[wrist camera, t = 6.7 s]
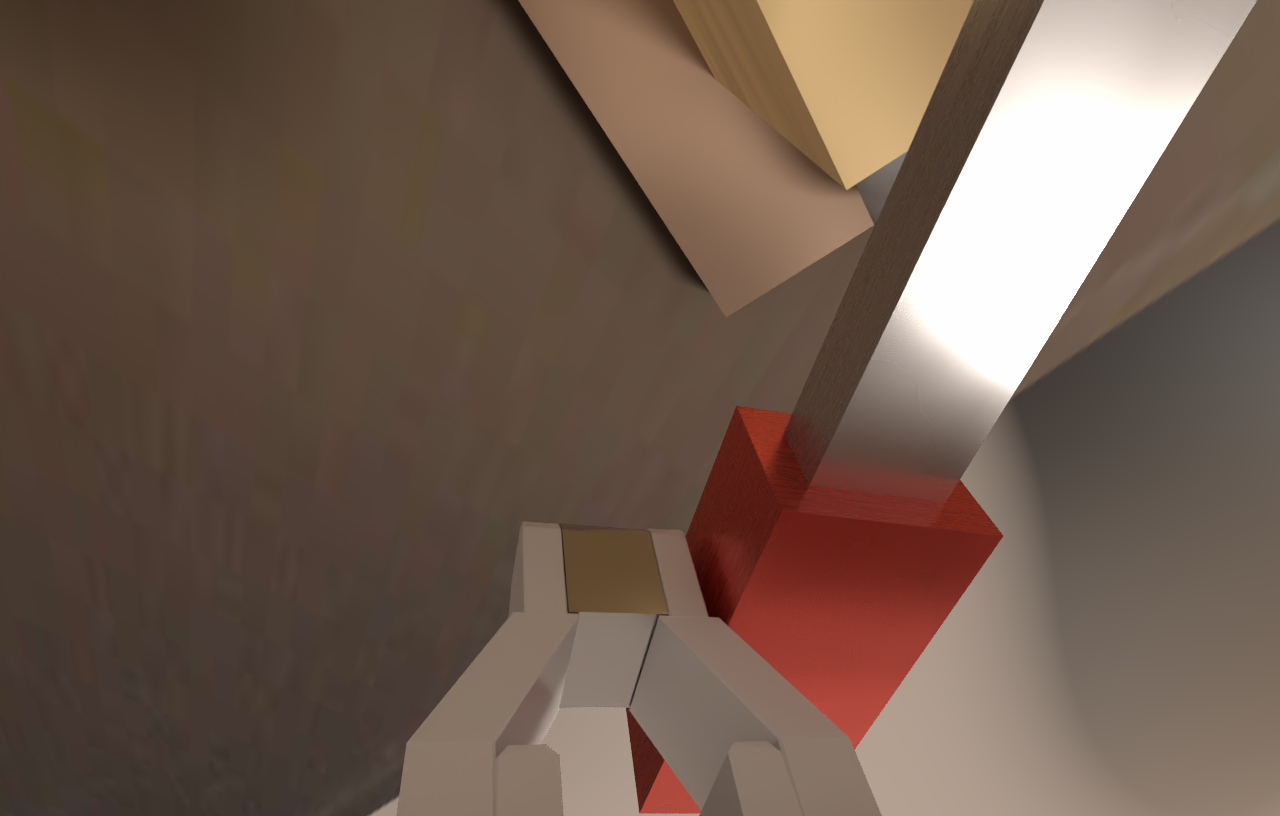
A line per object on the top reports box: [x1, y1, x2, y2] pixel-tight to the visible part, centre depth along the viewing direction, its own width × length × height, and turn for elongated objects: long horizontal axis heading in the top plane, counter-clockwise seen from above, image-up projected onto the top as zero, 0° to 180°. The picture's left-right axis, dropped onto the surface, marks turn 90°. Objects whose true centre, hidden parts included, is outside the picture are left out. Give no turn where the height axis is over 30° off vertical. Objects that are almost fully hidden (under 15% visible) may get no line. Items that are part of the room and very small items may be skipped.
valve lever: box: [626, 0, 1257, 813], centre depth 8 cm, size 16×3×2 cm, turn 166°
